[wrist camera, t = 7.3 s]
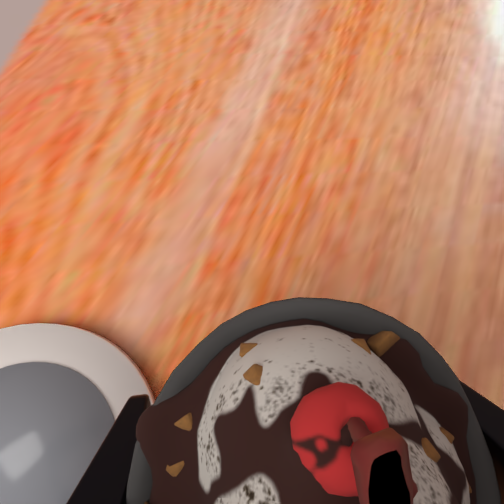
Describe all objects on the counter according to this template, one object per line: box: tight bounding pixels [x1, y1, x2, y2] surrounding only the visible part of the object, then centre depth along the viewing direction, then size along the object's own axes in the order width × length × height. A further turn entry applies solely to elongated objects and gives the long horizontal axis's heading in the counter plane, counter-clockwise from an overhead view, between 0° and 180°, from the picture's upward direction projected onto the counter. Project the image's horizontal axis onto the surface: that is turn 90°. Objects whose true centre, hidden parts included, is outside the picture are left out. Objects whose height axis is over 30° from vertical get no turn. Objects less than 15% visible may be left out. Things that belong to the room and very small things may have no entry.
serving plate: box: [0, 323, 155, 504], centre depth 19 cm, size 13×13×1 cm
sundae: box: [126, 297, 502, 504], centre depth 9 cm, size 7×7×15 cm
